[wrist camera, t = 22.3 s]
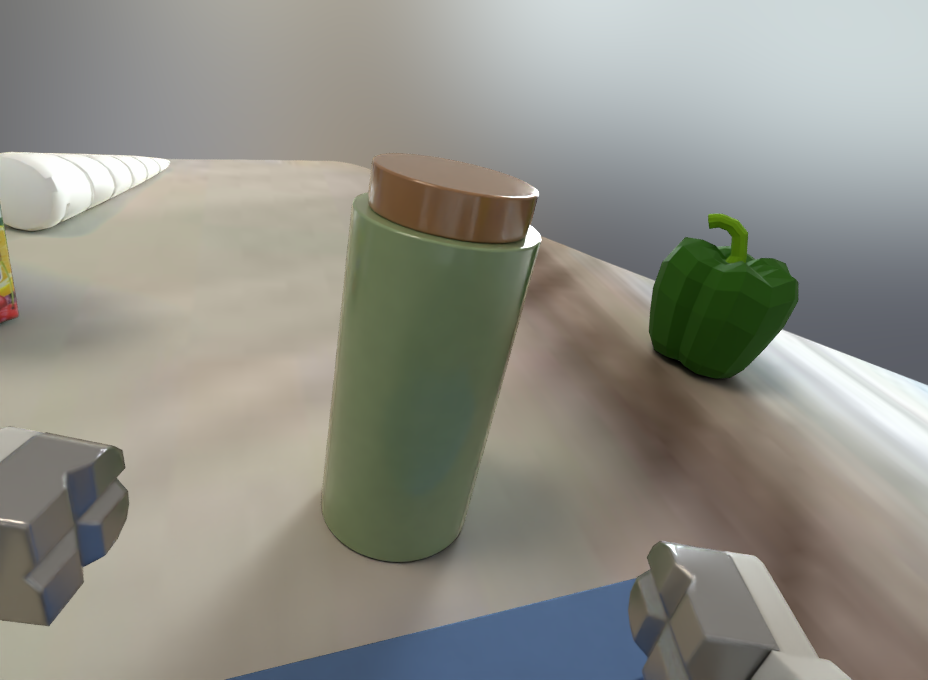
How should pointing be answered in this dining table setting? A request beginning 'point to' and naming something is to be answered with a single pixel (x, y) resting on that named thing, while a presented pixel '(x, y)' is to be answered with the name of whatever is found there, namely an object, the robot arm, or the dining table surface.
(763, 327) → the bell pepper
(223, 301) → the dining table surface
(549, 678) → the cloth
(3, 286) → the snack box
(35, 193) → the unicorn horn
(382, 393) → the spice jar
